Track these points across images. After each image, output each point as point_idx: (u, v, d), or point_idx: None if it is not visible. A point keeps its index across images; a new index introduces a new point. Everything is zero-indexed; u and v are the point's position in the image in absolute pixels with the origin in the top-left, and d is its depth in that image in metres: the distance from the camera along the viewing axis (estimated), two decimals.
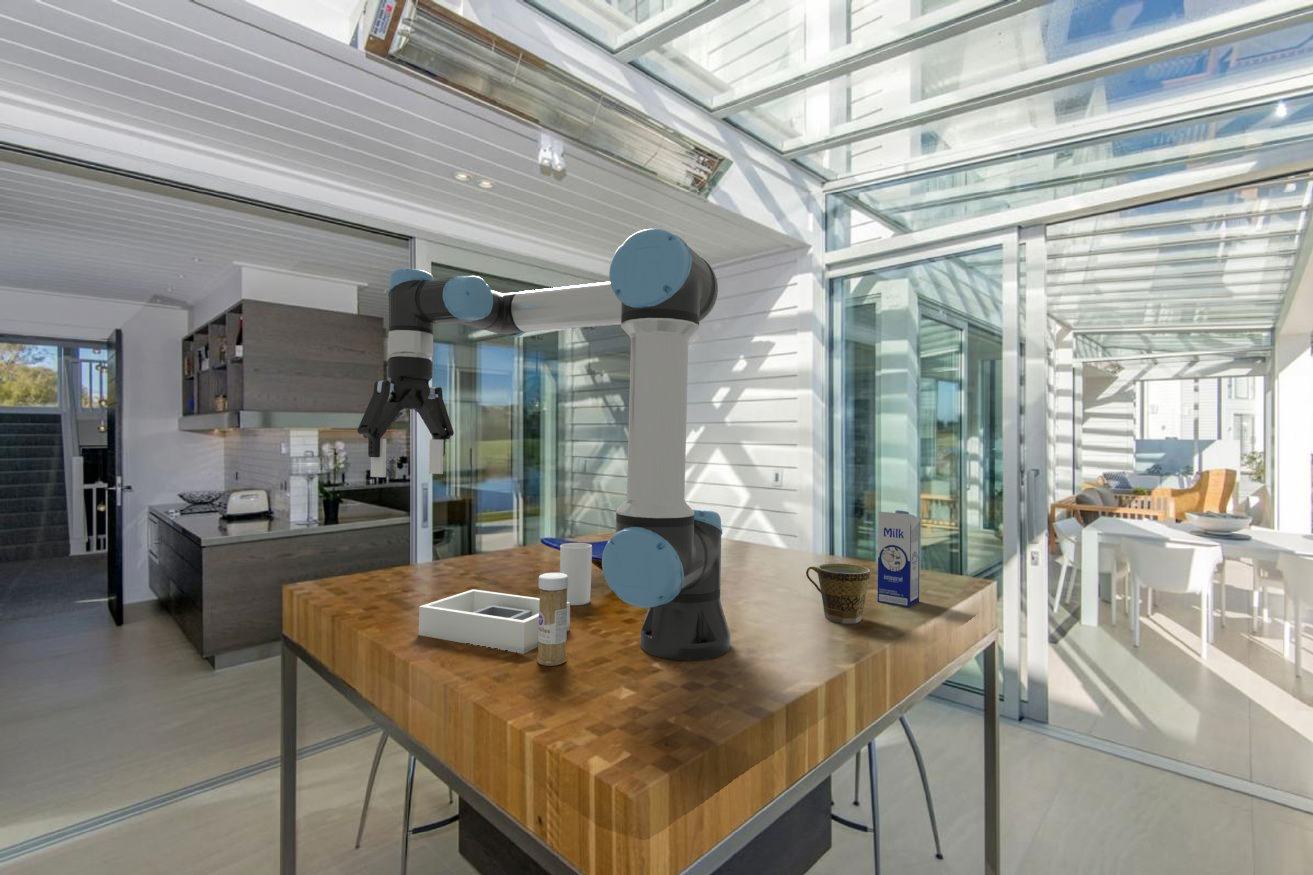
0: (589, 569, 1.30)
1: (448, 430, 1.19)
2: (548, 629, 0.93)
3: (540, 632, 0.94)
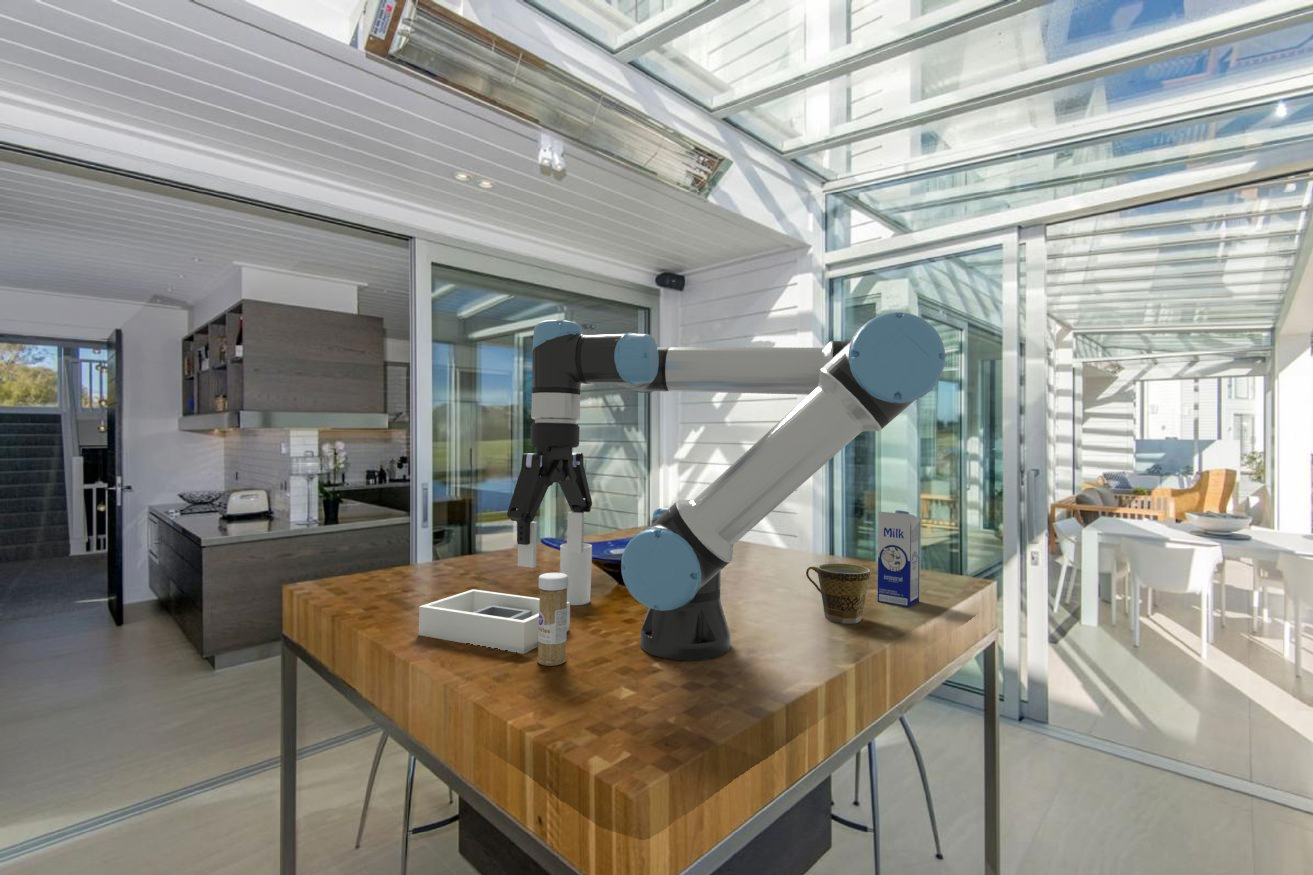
0: (589, 569, 1.30)
1: (587, 501, 1.03)
2: (548, 629, 0.93)
3: (540, 632, 0.94)
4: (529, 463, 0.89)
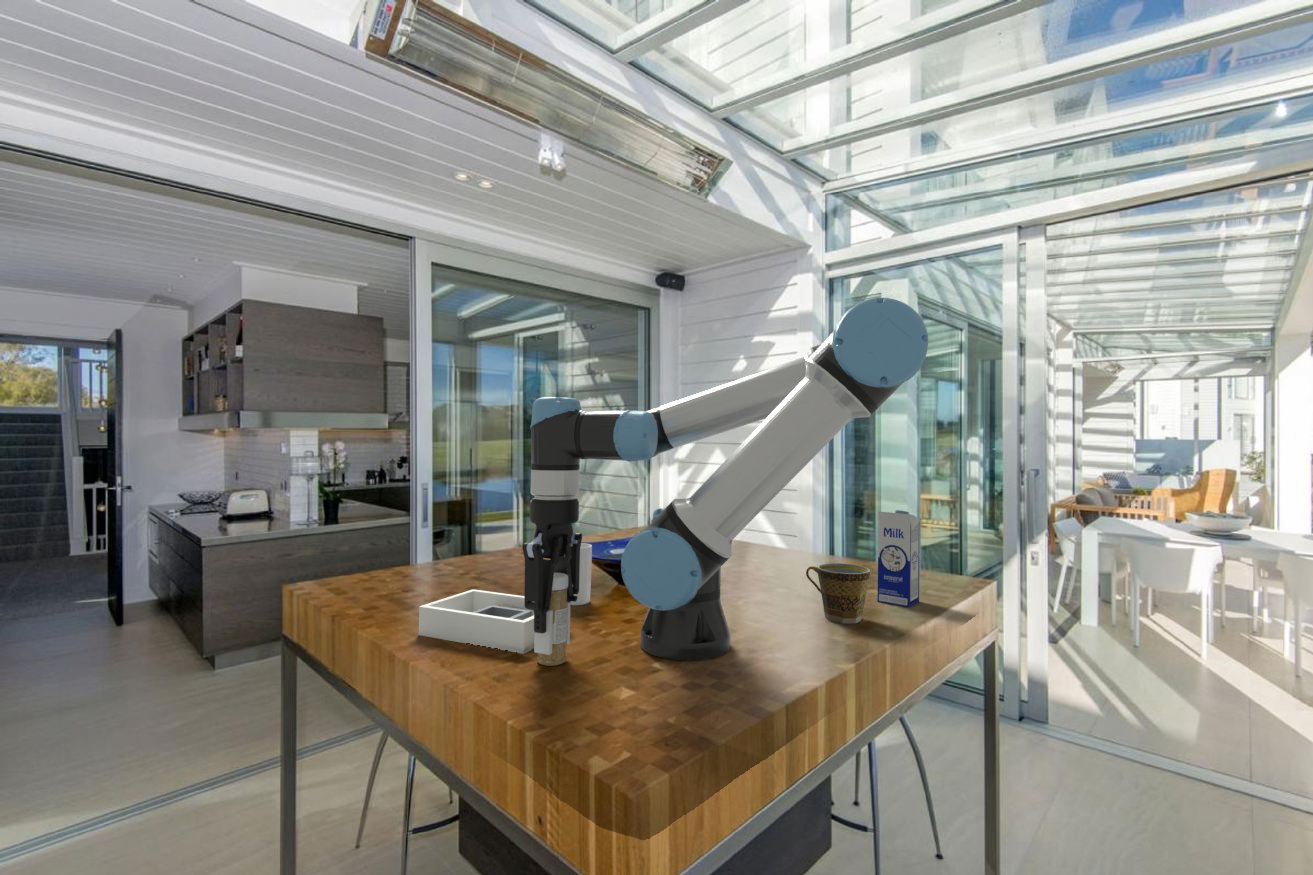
0: (589, 569, 1.30)
1: (575, 586, 0.99)
2: None
3: None
4: (531, 555, 0.90)
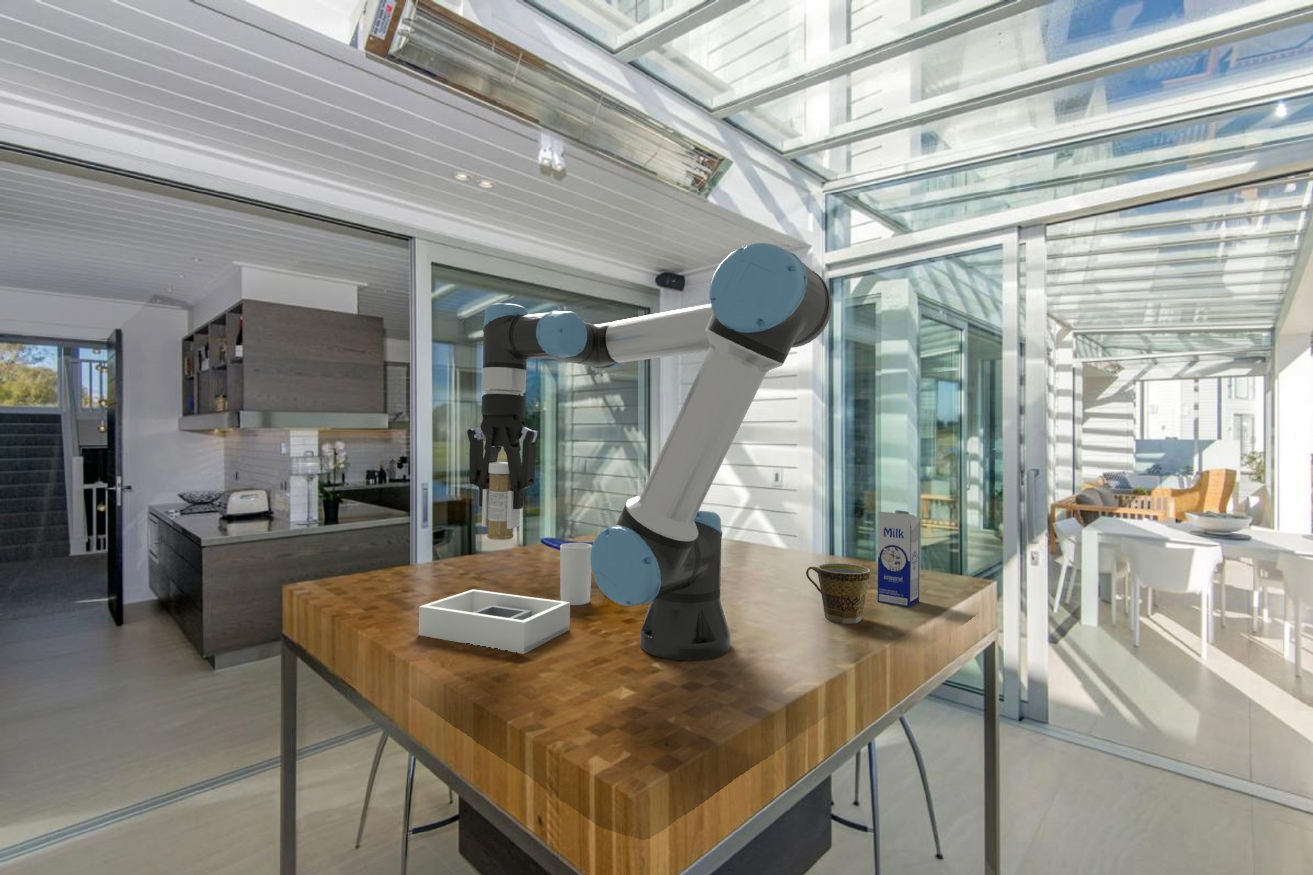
0: (589, 569, 1.30)
1: (522, 479, 1.06)
2: None
3: None
4: None
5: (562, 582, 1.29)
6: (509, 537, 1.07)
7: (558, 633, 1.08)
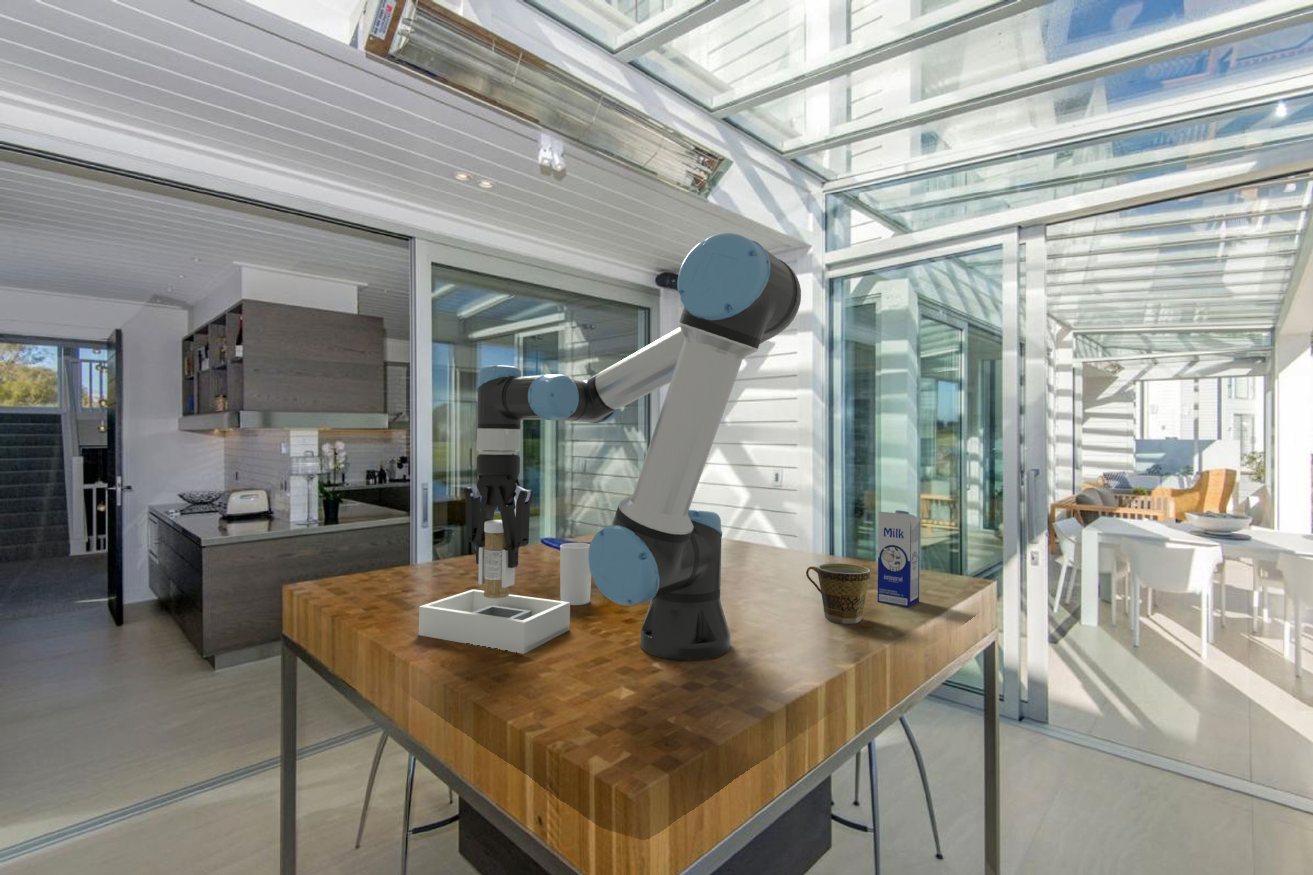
0: (589, 569, 1.30)
1: (515, 538, 1.07)
2: None
3: None
4: None
5: (562, 582, 1.29)
6: (504, 595, 1.08)
7: (558, 633, 1.08)
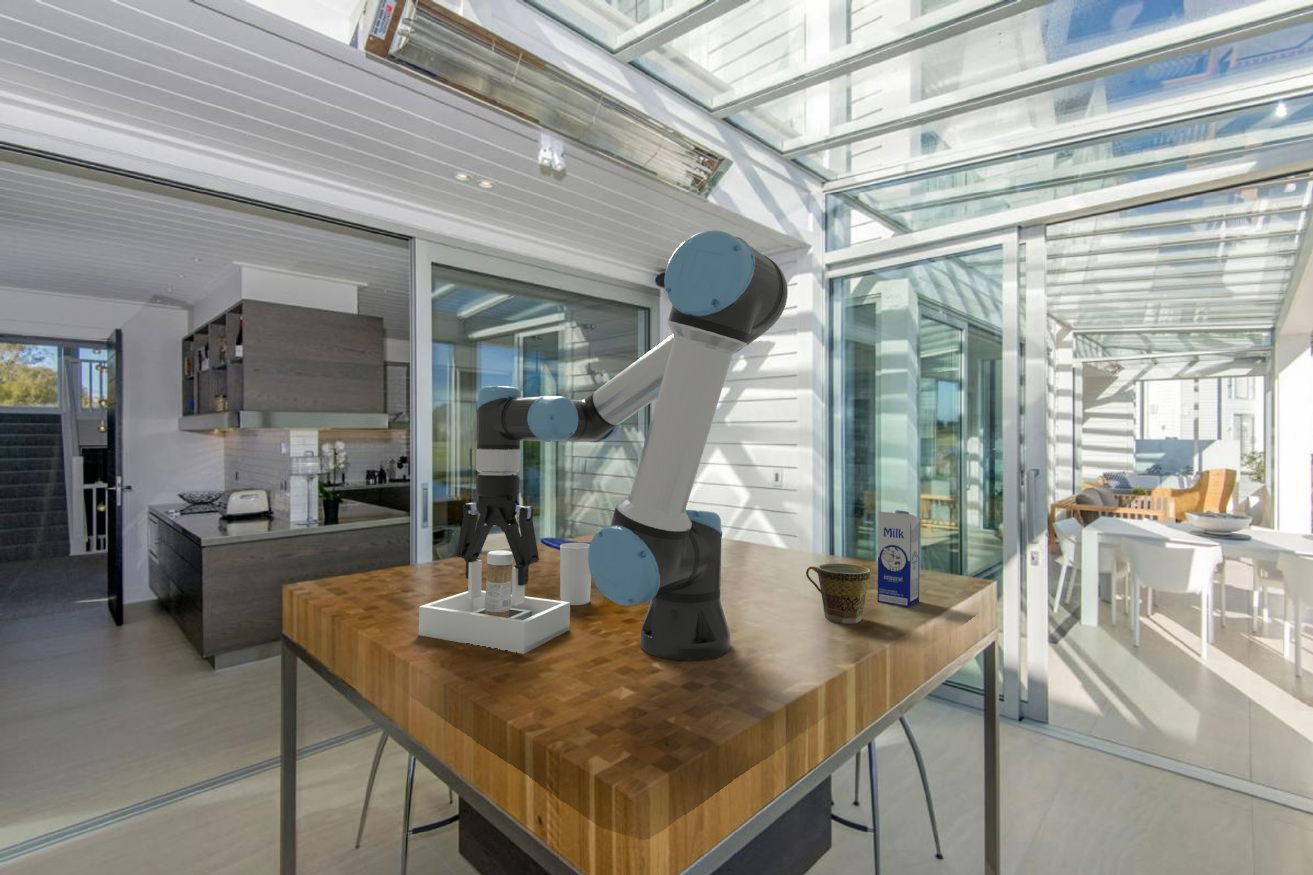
0: None
1: (525, 557, 1.06)
2: None
3: None
4: None
5: (562, 582, 1.29)
6: None
7: (558, 633, 1.08)
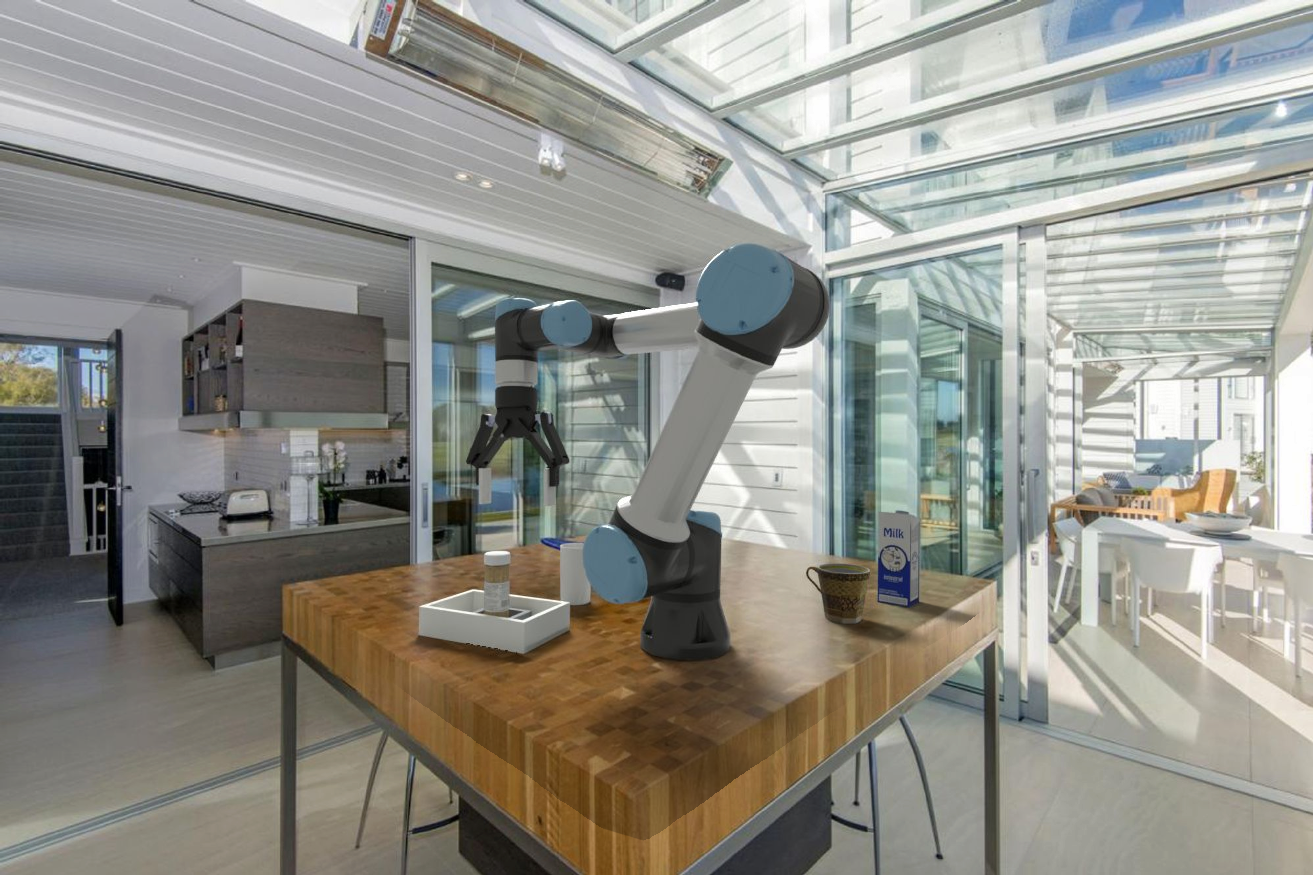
0: None
1: (555, 458, 1.06)
2: None
3: None
4: None
5: (562, 582, 1.29)
6: None
7: (558, 633, 1.08)
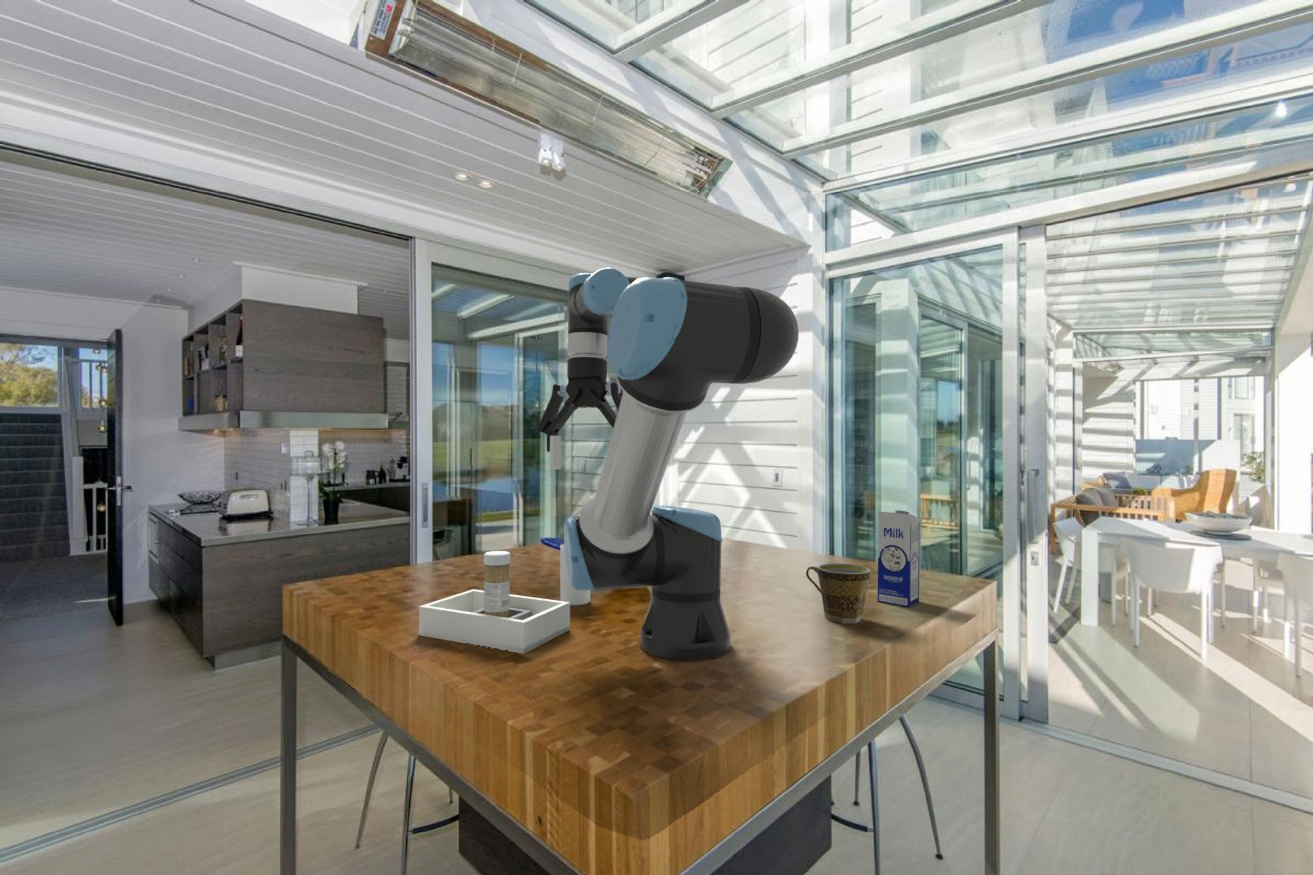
0: None
1: None
2: None
3: None
4: None
5: (562, 582, 1.29)
6: None
7: (558, 633, 1.08)
